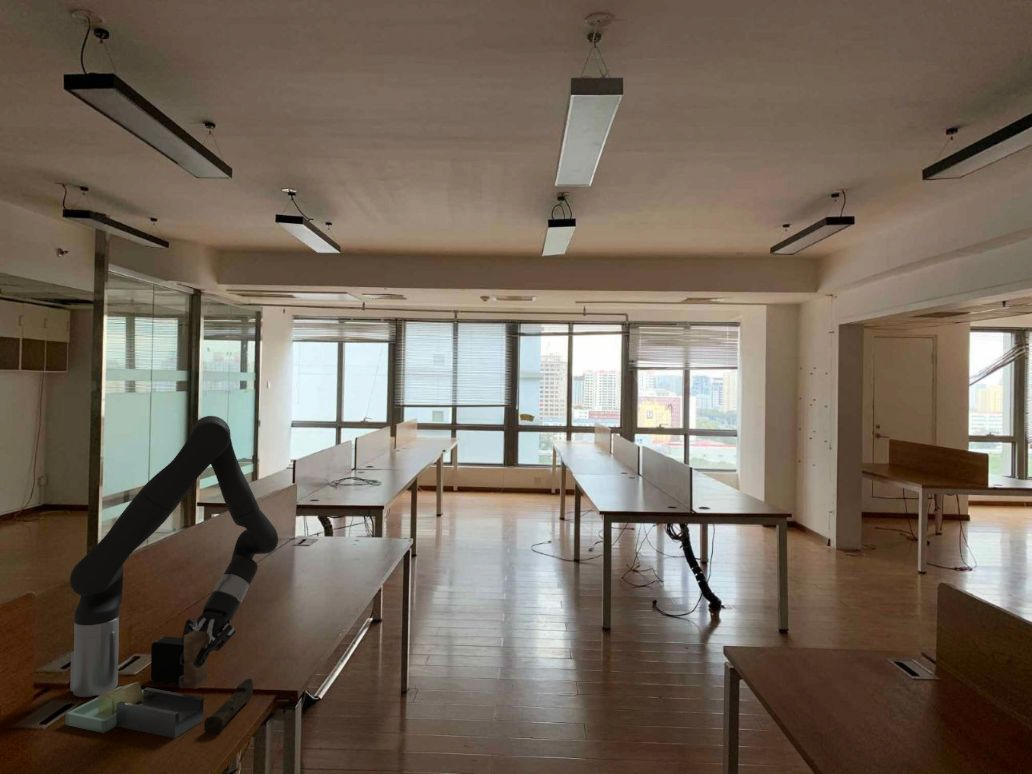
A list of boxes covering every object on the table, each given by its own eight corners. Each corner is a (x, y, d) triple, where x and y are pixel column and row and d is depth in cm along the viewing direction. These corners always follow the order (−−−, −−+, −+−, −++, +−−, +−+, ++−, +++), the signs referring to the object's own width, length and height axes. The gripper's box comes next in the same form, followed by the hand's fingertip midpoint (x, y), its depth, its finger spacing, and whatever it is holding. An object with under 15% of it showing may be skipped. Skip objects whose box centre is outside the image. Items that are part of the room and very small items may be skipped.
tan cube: (112, 716, 145) (98, 713, 146) (127, 708, 149) (113, 705, 150) (112, 698, 145) (98, 695, 146) (127, 690, 149) (114, 688, 150)
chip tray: (65, 724, 142) (65, 713, 142) (120, 696, 156) (120, 685, 156) (103, 733, 139) (104, 721, 139) (157, 703, 152) (157, 692, 152)
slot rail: (116, 726, 142) (116, 703, 142) (146, 709, 150) (147, 687, 150) (174, 738, 137) (175, 714, 137) (203, 720, 145) (203, 697, 145)
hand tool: (220, 736, 139) (221, 714, 139) (203, 734, 139) (203, 713, 139) (263, 695, 158) (263, 676, 158) (247, 694, 158) (247, 675, 158)
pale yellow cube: (115, 710, 145) (111, 692, 145) (130, 702, 148) (126, 685, 149) (128, 706, 144) (124, 689, 144) (143, 698, 147) (139, 681, 148)
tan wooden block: (178, 687, 151) (178, 636, 151) (194, 678, 156) (194, 629, 156) (193, 690, 150) (193, 638, 150) (209, 681, 155) (209, 631, 155)
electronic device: (185, 685, 162) (186, 645, 162) (150, 681, 164) (151, 642, 164) (196, 678, 166) (197, 639, 166) (162, 674, 168) (163, 636, 168)
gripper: (196, 587, 162) (155, 654, 151) (243, 592, 158) (205, 662, 147) (211, 601, 167) (173, 668, 156) (257, 607, 163) (222, 675, 152)
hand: (189, 664), depth 151 cm, fingers closed on tan wooden block, 3 cm apart
